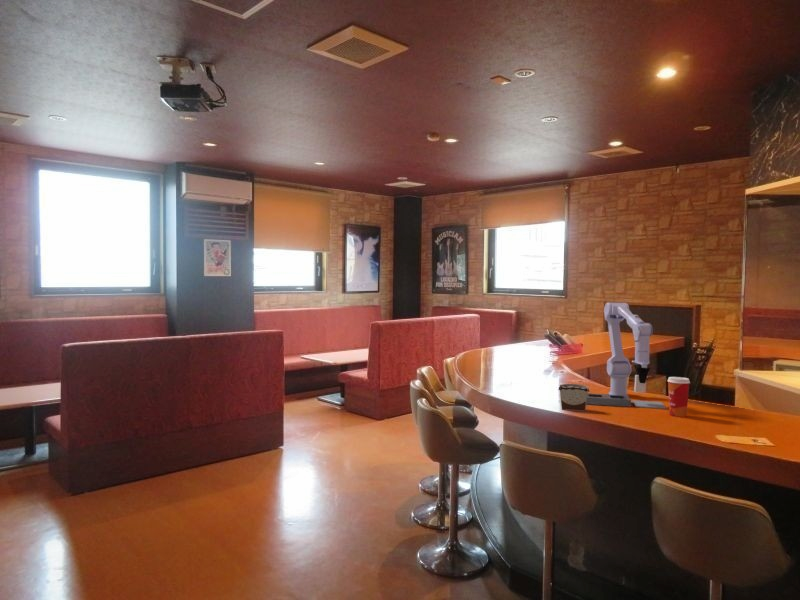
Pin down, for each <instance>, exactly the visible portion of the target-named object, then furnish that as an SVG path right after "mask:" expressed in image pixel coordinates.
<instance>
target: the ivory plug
mask: <svg viewBox="0 0 800 600" xmlns="http://www.w3.org/2000/svg"><path fill="white" fill-rule="evenodd" d="M633 387H634V389H633V392H634V393H638V394H640V393H641V394H646V391H647V381H646V382H645V383H640V382H639V375H637V374H635V375H634V386H633Z"/></svg>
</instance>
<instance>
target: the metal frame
mask: <svg viewBox="0 0 800 600" xmlns="http://www.w3.org/2000/svg"><path fill="white" fill-rule="evenodd" d="M628 396H629V395H628V394H627V395H610V394H609V393H608V394H607V393H592V392H591V393H590V392H588V395H587V402H586V405H593V406H610V407H627V408H631V407H632V400H631V398H630V396H629V397H628Z"/></svg>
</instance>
